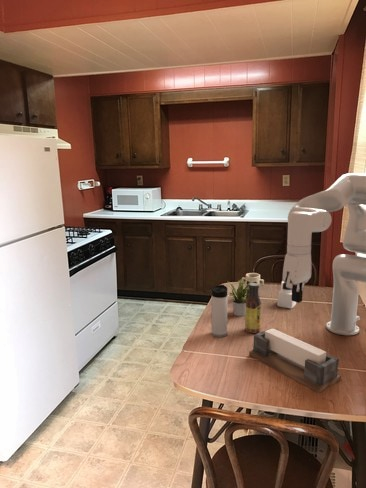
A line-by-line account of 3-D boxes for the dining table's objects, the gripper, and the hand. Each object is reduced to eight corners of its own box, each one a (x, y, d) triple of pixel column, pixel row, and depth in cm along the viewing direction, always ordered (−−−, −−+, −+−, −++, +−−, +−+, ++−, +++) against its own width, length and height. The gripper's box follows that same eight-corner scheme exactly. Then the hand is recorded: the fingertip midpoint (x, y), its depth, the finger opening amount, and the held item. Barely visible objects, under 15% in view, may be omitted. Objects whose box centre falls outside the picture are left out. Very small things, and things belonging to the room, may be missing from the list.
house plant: (263, 319, 173) (264, 283, 170) (234, 323, 169) (235, 287, 166) (249, 307, 187) (250, 274, 183) (221, 310, 183) (222, 277, 179)
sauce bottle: (260, 334, 159) (261, 287, 154) (244, 333, 160) (245, 286, 155) (260, 327, 165) (262, 282, 160) (245, 326, 166) (246, 281, 162)
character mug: (239, 301, 195) (240, 275, 192) (243, 296, 201) (243, 271, 198) (261, 303, 191) (262, 278, 188) (264, 298, 197) (265, 274, 194)
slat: (264, 346, 141) (265, 331, 140) (271, 343, 144) (272, 328, 142) (317, 373, 124) (318, 355, 123) (324, 368, 127) (326, 351, 125)
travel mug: (229, 331, 161) (230, 285, 157) (223, 338, 155) (224, 290, 151) (214, 329, 164) (215, 283, 159) (209, 335, 158) (209, 288, 153)
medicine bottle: (296, 304, 190) (297, 280, 187) (291, 309, 184) (293, 284, 181) (281, 301, 193) (283, 278, 191) (277, 306, 188) (278, 282, 185)
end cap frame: (271, 345, 150) (272, 327, 148) (340, 379, 127) (342, 358, 125) (249, 355, 143) (249, 336, 141) (318, 392, 120) (320, 370, 118)
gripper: (303, 243, 137) (300, 292, 142) (275, 251, 128) (273, 303, 133) (322, 247, 131) (319, 298, 136) (294, 255, 123) (292, 310, 127)
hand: (296, 300), depth 134 cm, fingers closed
